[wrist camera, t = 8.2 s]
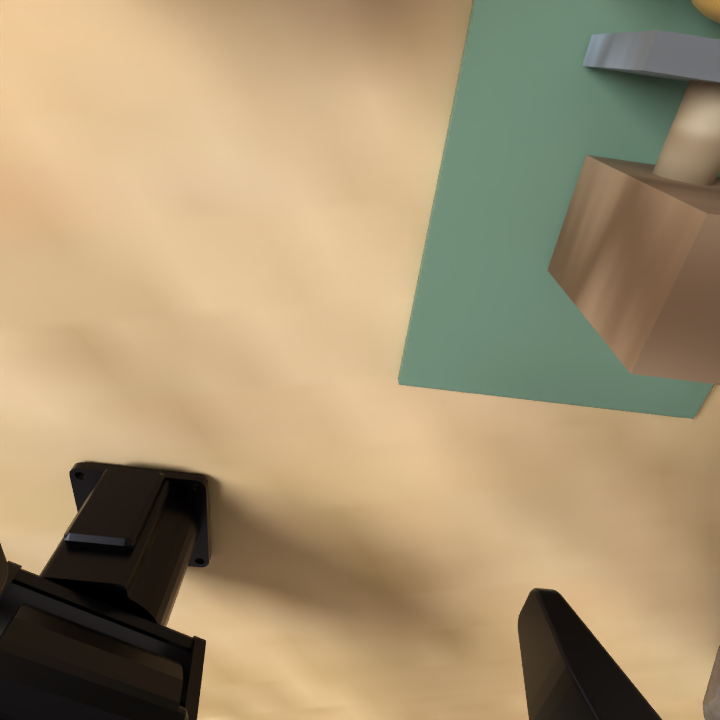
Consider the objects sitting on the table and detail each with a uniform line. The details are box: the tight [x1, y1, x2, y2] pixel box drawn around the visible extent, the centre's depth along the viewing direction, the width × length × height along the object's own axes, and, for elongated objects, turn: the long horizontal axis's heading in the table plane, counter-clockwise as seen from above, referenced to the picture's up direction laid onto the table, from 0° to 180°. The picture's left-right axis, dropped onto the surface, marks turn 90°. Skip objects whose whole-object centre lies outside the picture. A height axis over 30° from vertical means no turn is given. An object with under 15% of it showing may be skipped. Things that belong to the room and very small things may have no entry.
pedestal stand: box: [548, 30, 720, 385], centre depth 14 cm, size 7×6×7 cm
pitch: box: [398, 0, 720, 419], centre depth 17 cm, size 21×13×1 cm, turn 173°
